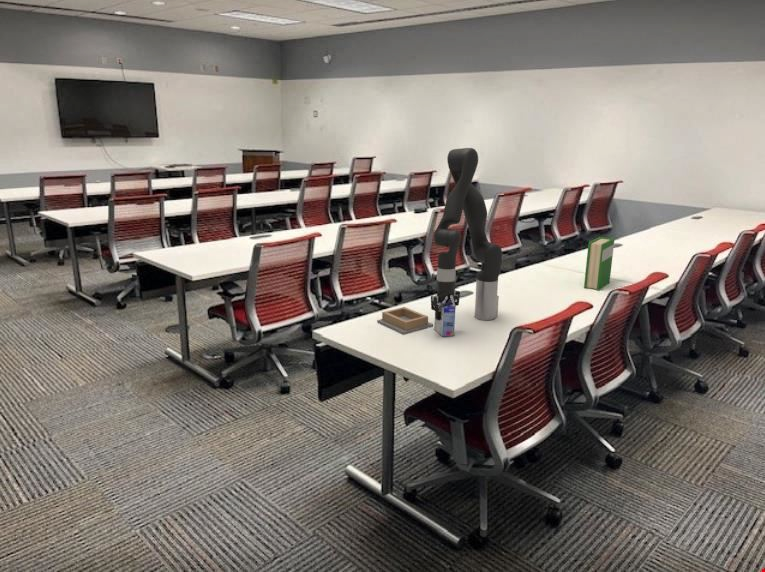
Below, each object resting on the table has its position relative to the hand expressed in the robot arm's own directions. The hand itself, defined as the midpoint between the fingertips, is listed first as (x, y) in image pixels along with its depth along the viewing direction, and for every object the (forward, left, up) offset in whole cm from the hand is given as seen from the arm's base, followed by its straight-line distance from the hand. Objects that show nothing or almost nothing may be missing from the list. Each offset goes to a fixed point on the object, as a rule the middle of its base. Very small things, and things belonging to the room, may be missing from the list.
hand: (444, 317), depth 231 cm
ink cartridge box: (0, 0, -6) cm, 6 cm away
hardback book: (-109, -2, -7) cm, 109 cm away
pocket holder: (+7, -17, -6) cm, 19 cm away
